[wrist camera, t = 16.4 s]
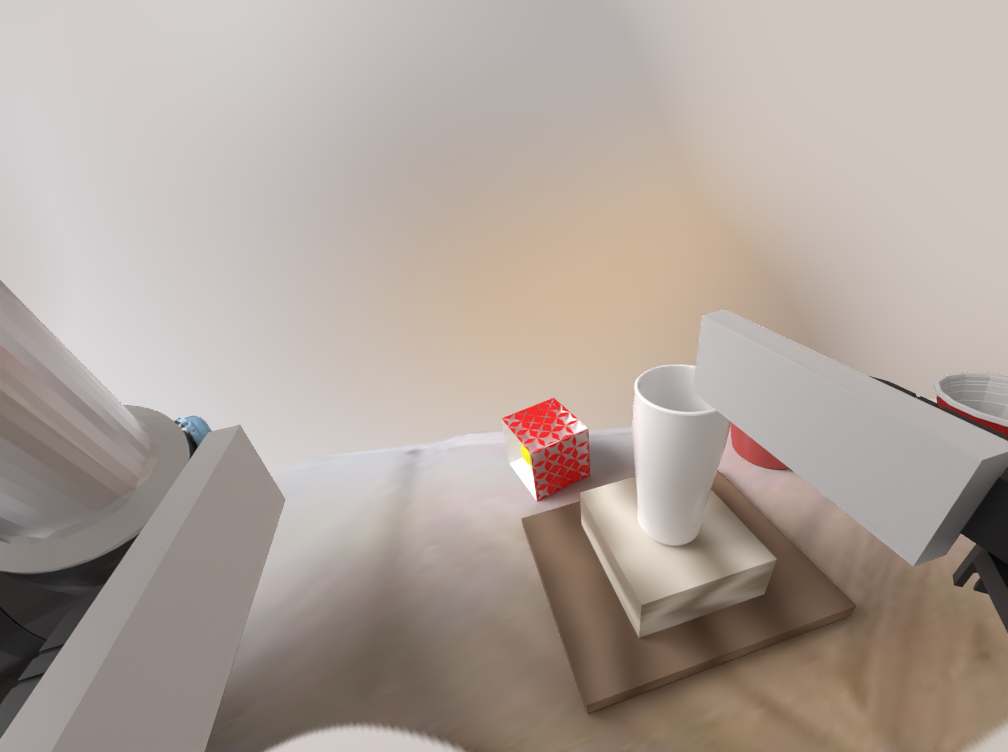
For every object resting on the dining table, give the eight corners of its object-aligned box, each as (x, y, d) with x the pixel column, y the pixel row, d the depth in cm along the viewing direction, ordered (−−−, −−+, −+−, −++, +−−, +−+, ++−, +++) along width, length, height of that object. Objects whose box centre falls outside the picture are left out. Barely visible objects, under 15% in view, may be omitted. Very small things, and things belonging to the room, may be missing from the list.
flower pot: (740, 412, 57) (752, 354, 53) (832, 446, 50) (856, 381, 45) (702, 449, 52) (712, 388, 47) (797, 494, 45) (821, 426, 40)
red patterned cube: (509, 463, 55) (501, 418, 51) (557, 442, 58) (553, 397, 54) (537, 502, 49) (530, 454, 45) (590, 476, 51) (588, 428, 47)
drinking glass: (644, 485, 40) (652, 356, 33) (717, 512, 36) (745, 374, 29) (616, 534, 36) (618, 398, 28) (696, 571, 32) (722, 426, 24)
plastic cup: (1009, 464, 44) (1074, 372, 38) (1066, 544, 36) (1159, 445, 30) (881, 444, 49) (920, 359, 43) (906, 510, 41) (959, 418, 35)
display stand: (587, 713, 30) (584, 674, 27) (523, 527, 46) (516, 487, 42) (850, 615, 34) (877, 569, 30) (708, 471, 49) (715, 431, 46)
